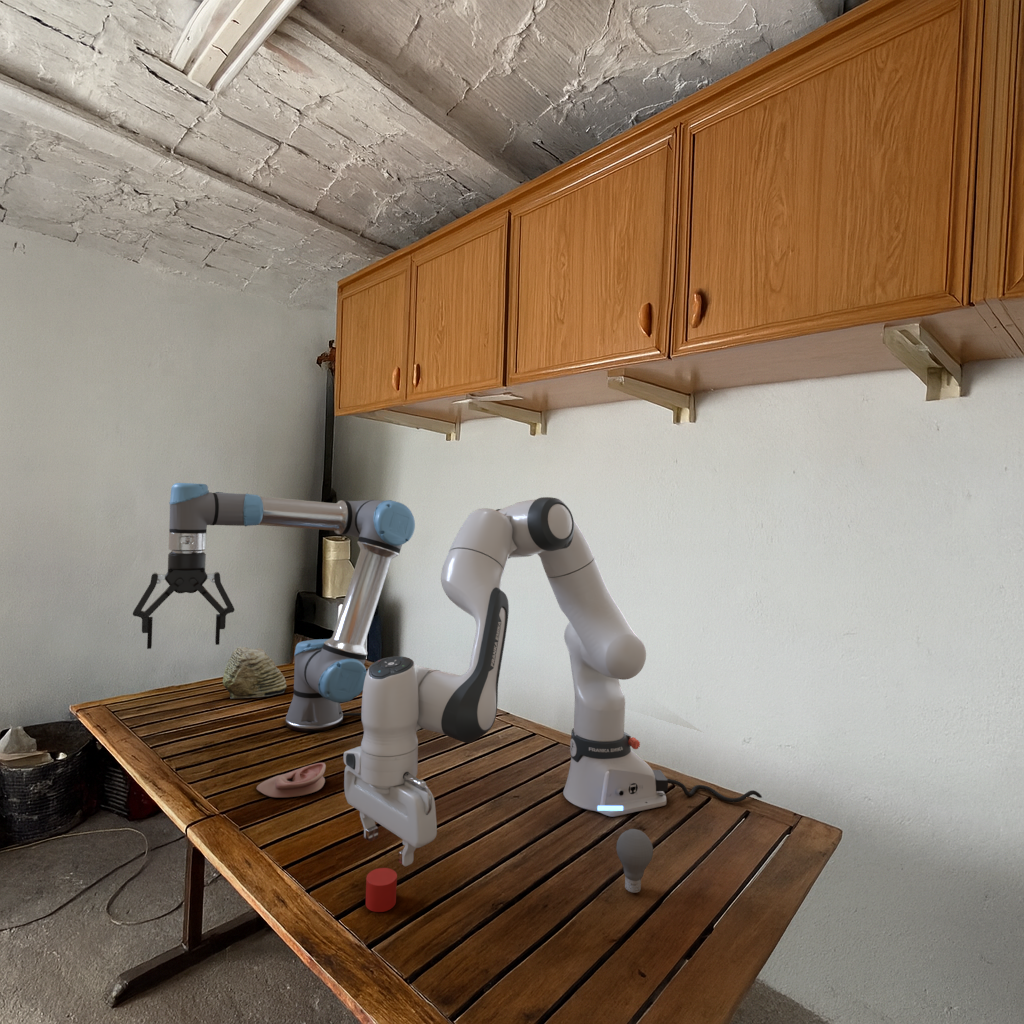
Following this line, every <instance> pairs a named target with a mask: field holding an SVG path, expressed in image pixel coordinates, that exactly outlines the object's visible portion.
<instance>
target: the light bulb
mask: <svg viewBox="0 0 1024 1024" xmlns="http://www.w3.org/2000/svg"><path fill="white" fill-rule="evenodd" d="M615 849H616V854H617V857H618V859H619V861H620V863H621V865H622V867H623V873H624V874H623V875H624V876H625V878H624V888H625V890H627V891H628V892H630V893H634V894H635V893H639V892H640V891H641V889H642V887H641V886H642V879H643V877H644V875H645V871H646V868H647V867H648V866H649V864H650V863H651V861H652V859H653V855H654V847H653V843H652V841H651V838H649V836H648V835H647V834H646V833H645V832H643V831H642V830H641V829H636V828H629V829H627V830H625V831H623V832H622V833H621V834H620V835H619V837H618V839H617V841H616V847H615Z"/></svg>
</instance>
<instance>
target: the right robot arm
mask: <svg viewBox="0 0 1024 1024" xmlns="http://www.w3.org/2000/svg"><path fill="white" fill-rule="evenodd" d="M534 555H537V556H538V557H539V558H540V561H541V564H542V567H543V571H544V573H545V576H546V578H547V580H548V583H549V585H550V587H551V590H552V592H553V595H554V597H555V599H556V602H557V605H558V607H559V608H560V610H561V612H562V613H563V614H564V616H565V617H566V618H567V620H568V623H567V625H566V626H565V629H564V635H563V638H564V639H563V640H564V643H565V646H566V648H567V650H568V655H569V663H570V669H571V670H570V671H571V677H572V684H573V692H574V707H573V708H574V709H573V728H572V729H571V734H570V742H569V743H570V745H569V751H570V763H569V769H568V773H567V778H566V782H565V785H564V788H563V791H562V794H563V797H564V799H566V800H567V801H568V802H569V803H571V804H572V805H574V806H576V807H578V808H580V809H584V810H588V811H593V812H597V813H600V814H602V815H604V816H608V817H613V818H614V817H619V816H624V815H627V814H632V813H633V814H634V813H636V812H641V811H647V810H650V809H655V808H660V807H664V806H666V805H667V803H668V802H667V796H666V793H665V792H669V784H672V785H676V786H677V787H680V788H681V790H682V791H683V794H684V795H686V796H687V797H693V796H694V795H695V793H696V792H697V791H698V790H705V791H708V792H709V793H711V794H712V795H714V796H715V797H717V798H718V799H720V800H722V801H724V802H728V803H732V804H733V803H740V802H743V801H745V800H747V798H746V797H748V798H750V797H751V796H752V795H753V796H755V797H757V798H763V796H762V794H760V793H759V791H756V790H749V791H747V792H746V793H744V794H743V795H740V796H738V797H727V796H724V795H723V794H721V793H720V792H718V791H716V789H714V788H712V787H710V786H707V785H704V784H697V785H694V786H693V787H692V789H691V790H690V791H688V789H687V787H686V785H685V784H684V783H682V782H681V781H678V780H677V779H673V778H672V779H671V778H667V777H666V775H665V774H664V773H663V772H662V770H661V769H652V767H651V765H649V764H648V763H647V762H646V761H645V760H644V759H643V758H642V757H640V756H639V755H638V754H637V753H636V752H635V751H634V750H638V749H639V748H640V746H641V742H640V741H639V740H638V739H637V738H636V737H634V736H633V737H632V736H631V734H628V733H627V732H626V731H625V720H626V698H625V697H626V696H625V694H624V692H623V689H622V687H621V684H620V683H621V682H620V680H623V681H625V680H630V679H632V678H634V677H636V676H637V675H638V674H639V673H640V672H641V671H642V670H643V668H644V667H645V664H646V659H647V650H646V647H645V645H644V642H643V641H642V640H641V639H640V637H639V636H638V635H637V634H636V633H635V632H634V630H633V629H632V627H631V625H630V624H629V622H628V620H627V618H626V617H625V615H624V613H623V612H622V610H621V608H620V607H619V606H618V604H617V602H616V601H615V599H614V598H613V596H612V594H611V592H610V590H609V588H608V586H607V584H606V582H605V579H604V577H603V575H602V572H601V570H600V567H599V564H598V562H597V560H596V558H595V555H594V552H593V551H592V548H591V546H590V544H589V542H588V539H587V538H586V536H585V535H584V533H583V531H582V530H581V528H580V526H579V525H578V523H577V522H576V521H575V520H574V517H573V514H572V512H571V510H570V508H569V507H568V505H566V503H564V501H563V500H561V499H560V498H558V497H552V496H551V497H549V496H547V497H546V496H543V497H538V498H536V499H528V500H523V501H522V500H521V501H518V502H515V503H513V504H512V505H507V506H505V507H503V508H497V509H494V508H488V507H483V508H482V507H481V508H478V509H475V510H473V511H472V512H470V513H469V515H468V516H467V518H466V519H465V520H464V522H463V523H462V525H461V527H460V528H459V529H458V531H457V533H456V536H455V537H454V539H453V542H452V543H451V546H450V547H449V550H448V553H447V555H446V557H445V560H444V563H443V565H442V567H441V573H440V583H441V587H442V590H443V592H444V594H445V595H446V597H448V599H449V600H450V602H452V603H453V604H454V605H455V606H457V608H459V609H460V610H461V611H464V612H465V613H467V614H468V615H470V617H473V618H474V620H475V624H476V630H475V635H474V640H473V646H472V651H471V656H470V662H469V667H468V669H467V671H466V672H465V673H463V674H458V673H457V674H456V673H452V672H447V671H442V670H440V669H435V668H429V667H424V666H421V665H418V664H416V663H415V661H414V660H413V659H412V658H410V657H408V656H401V655H400V656H399V655H397V656H396V655H394V656H388V657H383V658H380V659H378V660H376V661H375V662H373V663H372V664H370V666H369V667H368V668H367V670H366V671H367V673H366V676H365V680H364V686H363V690H362V692H361V693H362V696H361V712H360V713H361V716H360V717H361V724H362V727H363V728H362V729H363V735H362V739H361V742H360V746H356V747H354V748H353V747H352V748H351V749H348V750H346V751H344V752H343V764H344V765H345V767H344V773H343V774H344V777H343V780H344V781H343V789H344V797H345V799H346V802H347V804H348V805H350V806H351V807H353V808H354V809H356V810H357V811H359V818H360V822H361V824H362V827H363V838H364V839H366V840H367V841H368V842H373V841H375V840H378V838H379V827H378V826H377V825H376V823H377V824H378V825H380V826H382V827H383V828H384V829H386V830H387V831H388V832H391V833H392V834H394V835H395V836H397V837H398V838H400V839H401V840H402V845H403V846H404V847H403V849H401V850H399V851H398V862H399V863H400V864H401V865H403V866H404V867H408V866H410V865H412V864H413V863H414V858H415V856H414V855H415V854H414V853H415V851H416V850H417V849H419V848H422V847H424V846H426V845H429V844H431V843H432V842H434V840H435V839H436V838H437V836H438V822H437V810H436V809H437V808H436V802H435V797H434V794H433V793H432V791H431V790H430V788H429V787H428V785H427V782H426V781H424V780H423V779H419V778H417V776H418V773H419V772H418V771H419V769H418V768H419V766H418V765H419V738H418V735H417V732H418V731H419V730H421V729H423V730H426V731H430V732H434V733H437V734H442V735H445V736H447V737H449V738H451V739H454V740H456V741H459V742H462V743H464V744H470V743H473V742H474V741H477V740H479V739H480V738H481V737H483V736H485V735H486V734H487V733H488V732H489V731H490V730H491V729H492V728H493V726H494V724H495V721H496V718H497V712H498V702H499V701H498V699H499V698H498V697H499V696H498V694H499V680H500V674H501V668H502V663H503V654H504V649H505V643H506V636H507V630H508V622H509V613H510V610H509V609H510V607H509V606H510V605H509V599H508V596H507V594H506V593H505V592H504V591H503V589H502V581H503V575H504V573H505V570H506V567H507V563H508V560H509V559H513V558H515V559H516V558H526V557H531V556H534ZM631 748H632V749H633V750H632V749H631Z"/></svg>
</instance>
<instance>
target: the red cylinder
mask: <svg viewBox="0 0 1024 1024" xmlns="http://www.w3.org/2000/svg"><path fill="white" fill-rule="evenodd" d="M397 883H398V873H397V872H396V871H395V869H392V868H389V867H379V868H375V869H373V870H371V871H369V872H368V873H367V874H366V881H365V907H366V909H367V910H369V911H371V912H374V913H383V912H387V911H390V910H391V909H393V908H394V907H395V905H396V903H397V889H398V888H397V887H398V886H397V885H398V884H397Z"/></svg>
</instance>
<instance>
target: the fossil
mask: <svg viewBox="0 0 1024 1024" xmlns="http://www.w3.org/2000/svg"><path fill="white" fill-rule="evenodd" d="M222 676H223V677H222V685H223V687H224V688H225V690H226V691H228V693H229V698H230V699H250V698H264V697H271V696H275V695H281V694H284V693H285V691H286V689H287V687H288V686H287V680H286V678H285V676H284V674H283V673H282V672H281V669H279V668H278V667H277V665H276V663H275V662H274V660H273V659H272V658H271V657H270V656H269V655H268V654H267V653H266V652H265V650H264V649H263V648H260V647H258V648H251V647H247V646H246V647H245V646H238V647H237V648H236V649H235V650H233V651H232V653H231V656H230V657H229V659H228V660H227V663H226V666H225V668H224V671H223V675H222Z"/></svg>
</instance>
